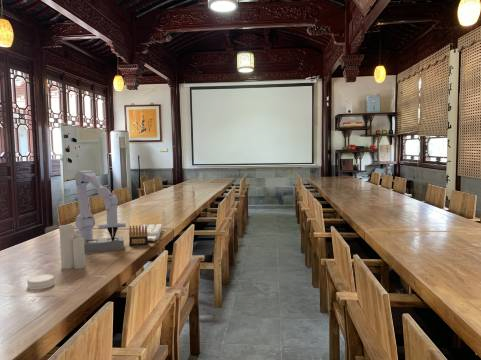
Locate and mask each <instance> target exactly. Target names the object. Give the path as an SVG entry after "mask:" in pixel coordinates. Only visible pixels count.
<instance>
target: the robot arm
mask: <svg viewBox="0 0 481 360" xmlns="http://www.w3.org/2000/svg"><path fill="white" fill-rule="evenodd" d="M74 180H75V185H76V192H77V195H76V196H77V201H78V209H79V214H78V215H77V216H76V217H75V226H76V228H77V229H75V230H76V231H75V234H81V238H84V240H91V239H94V237H93V229H94V227H95V225H96V219H95V217H94V214H93V213H91V212H90V205H89V197H88V190H87V186H88V185H89V184H91V185H92V186H93V187H94V188H95V189H96V190H97V194H98V195H99V197H100V198H101V199H102V200H103V205H104V206H105V207H104V208H105V210H106V224H100V225H99V224H98V230H101V229H104V230H105V229H107V231H108V233H109V236H110V238H111V239H112V240H114V239H115V237H116V234H117V231H118V229H119V228H126V226H127V223H125V222H121V223H118V205H119V203H120V199H119V196H118V195H116V194H114V193H112V192H111V191H110V190H109V188H108V187H107V186H103V184H102V183H101V182H100V179H98V178H97V174H96V173H95V171H94V170H92V169H89V170H77V171H76V173H75V174H74Z"/></svg>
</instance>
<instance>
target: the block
mask: <svg viewBox="0 0 481 360" xmlns="http://www.w3.org/2000/svg"><path fill="white" fill-rule="evenodd" d="M115 239H117V240H112V239H111V237H105V238H95V239H94V238H93V239H91V240H84V251H85V254H90V253H98V252H101V253H102V252H109V251H110V250H111V251H120V249H121V250H124V249H125V246H124V245H125V244H124V237H123V236H117V237H116V236H115ZM109 240H111V241H109ZM89 241H96V242H89ZM88 242H89V243H88Z"/></svg>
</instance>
